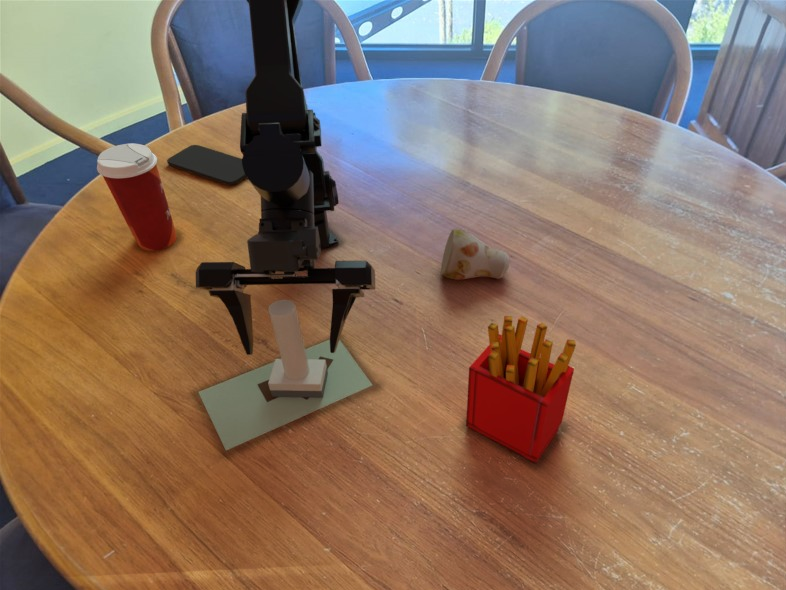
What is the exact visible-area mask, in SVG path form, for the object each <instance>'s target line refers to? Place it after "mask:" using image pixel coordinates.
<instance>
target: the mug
mask: <svg viewBox="0 0 786 590" xmlns="http://www.w3.org/2000/svg"><path fill="white" fill-rule="evenodd" d="M509 266H510V257H509V255H508V254H507V253H506V252H505V251H501V250H499V249H496V248H492V247H490V246H489V245H487V243H485V242H483V241H482V240H480V239H479V238H478V237H476V236H475V235H473V234H472V233H470V232H469V231H466V230H465V229H457V228H456V229H452V230H451V231H450V233H449V236H448V238H447V241H446V244H445V246H444V251H443V255H442V259H441V267H440V275H441V276H443V277H444V278H447V279H451V280H456V281H457V280H467V279H473V278H479V277H487V278H493V279H497V280H498V279H502V278H504V277H505V276H506V275H507V273H508V270H509Z"/></svg>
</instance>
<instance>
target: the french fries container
mask: <svg viewBox="0 0 786 590" xmlns="http://www.w3.org/2000/svg"><path fill="white" fill-rule="evenodd" d="M528 321H529V318H526V317H524V316H520V317H519V318H518V319H517V324H516V328H515V326H514V325H513V316H512V315H504V317H503V323H502V330H501V334H500V332H499V324H497V323H494V322H491V323H490V324H489V325H488V326H487V332H488V341H489V344H488V346H486V348H485V349H484V350H483V351H482V352H481V353H480V354H479V356H478V357H477V358H476V360H474V361H473V362H472V363H471V364H470V366H469V367H468V383H467V401H466V403H467V405H466V421H465V422H466V423H465V426H466V427H467V428H468V429H471V430H473V431H475V432H476V433H478V434H480V435H482V436H484V437H486V438H488V439H489V440H492V441H493V442H495V443H498V444H499V445H501V446H502V447H505V448H506V449H508V450H510V451H512V452H514V453H515V454H518V455H520V456H522V457H524V458H525V459H527V460H529V461H531V462H533V463H535V464H537V463H538V461H539V460H540V458H541V457H542V455H544V454H543V453H544V452H545V451H546V449H547V448H548V446H549V445H550V444H551V442H552V440H553V439H554V437H555V436H556V434H557V433H558V431H559V427H560V426H561V425H562V423H563V419H564V415H565V411H566V406H567V401H568V396H569V393H570V388H571V383H572V379H573V375H574V371H575V368H574V367H572V366H571V365H570V362H571V359H572V357H573V354H574V351H575V349H576V346H577V343H576V340H575V339H568V338H567V340H566V341H565V345H564V347H563V350H562V352H561V353H560V354H559V355H558V357H557V358H556V360H555V362H554V363H551V362H550V360H551V355H552V350H553V341H552V340H549V339H545V338H546V335H547V331H548V325H546V324H545V323H543V322H541V323H539V324H537V325H536V328H535V332H534V337H533V341H532V345H531V349H530V352H528V351H526V350H524V349H522V346H523V342H524V338H525V333H526V330H527V326H528Z"/></svg>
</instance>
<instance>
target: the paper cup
mask: <svg viewBox="0 0 786 590" xmlns="http://www.w3.org/2000/svg"><path fill="white" fill-rule="evenodd" d="M96 162H97V165H96V171H97V172H98V174H100V175H101V176H102V177H103V179H104V182H105V184H106V185H107V187H108V189H109V192H110V193H111V195H112V197H113V199H114V201H115V203H116V205H117V207H118V209H119V212H120V213H121V215H122V217H123V219H124V221H125V222H126V225H127V226H128V228H129V230H130V232H131V235H132V236H133V238H134V240H135V242H136V243H137V245H138V246H139V248H140V249H142V250H144V251H145V250H146V251H151V252H152V251H160V250H163V249H166V248H168V247H170V246H172V245H173V244H175V242H176V240H177V238H178V237H177V232H176V228H175V224H174V221H173V217H172V214H171V209H170V207H169V203H168V200H167V197H166V193H165V189H164V186H163V182H162V179H161V175H160V172H159V169H158V165H157V163H158V157H157V156H156V154H155V153H153V152H152V150H151V149H150V148H149V147H148V146H147V145H144V144H140V143H134V142H133V143H132V142H131V143H123V144H118V145H117V144H116V145H114V146H111V147H109V148H107V149H105V150H102V152H100V154H99V155H98V157H97V160H96Z"/></svg>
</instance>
